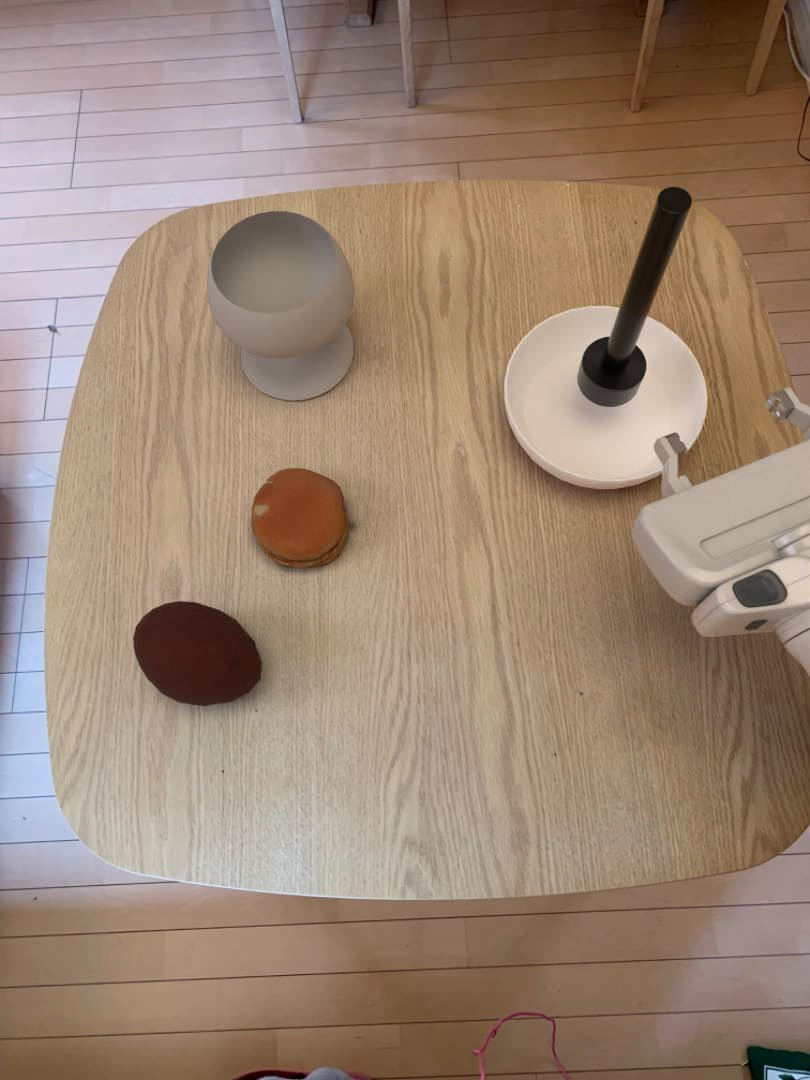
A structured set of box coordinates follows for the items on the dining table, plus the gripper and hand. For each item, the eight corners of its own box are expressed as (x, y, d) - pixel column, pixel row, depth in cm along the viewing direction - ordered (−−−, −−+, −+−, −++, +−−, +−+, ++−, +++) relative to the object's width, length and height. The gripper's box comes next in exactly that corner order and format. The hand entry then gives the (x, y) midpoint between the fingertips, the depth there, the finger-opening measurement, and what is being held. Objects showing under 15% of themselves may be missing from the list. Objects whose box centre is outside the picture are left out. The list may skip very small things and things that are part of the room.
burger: (363, 551, 83) (359, 534, 79) (273, 585, 82) (264, 570, 78) (330, 467, 87) (324, 446, 82) (243, 498, 86) (233, 479, 81)
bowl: (622, 312, 92) (635, 276, 86) (728, 454, 86) (749, 425, 80) (464, 387, 89) (467, 355, 84) (562, 540, 83) (572, 516, 77)
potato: (174, 602, 82) (143, 571, 73) (287, 645, 80) (269, 620, 71) (132, 685, 79) (95, 664, 70) (248, 733, 77) (225, 717, 69)
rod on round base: (649, 369, 82) (731, 186, 60) (623, 417, 81) (697, 246, 58) (593, 344, 84) (653, 154, 61) (566, 390, 82) (617, 213, 59)
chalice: (281, 434, 88) (253, 353, 74) (207, 344, 92) (168, 252, 78) (388, 361, 91) (381, 270, 77) (312, 277, 95) (292, 176, 81)
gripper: (977, 505, 57) (861, 344, 62) (705, 620, 55) (606, 444, 59) (927, 539, 63) (824, 389, 67) (679, 644, 61) (591, 482, 65)
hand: (720, 416), depth 63 cm, fingers open, 8 cm apart
